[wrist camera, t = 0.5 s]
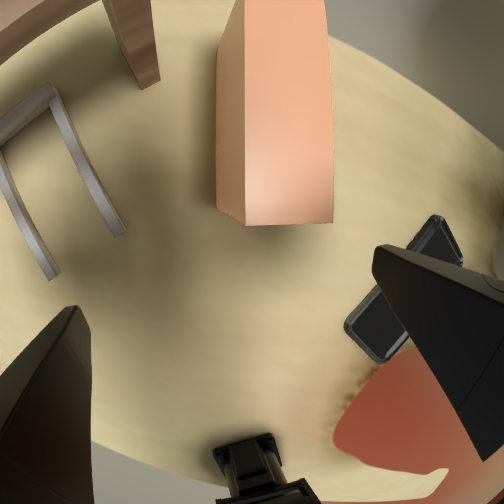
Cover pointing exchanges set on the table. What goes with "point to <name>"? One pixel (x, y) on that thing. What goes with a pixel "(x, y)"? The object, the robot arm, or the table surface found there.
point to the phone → (378, 309)
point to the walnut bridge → (15, 38)
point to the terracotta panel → (275, 114)
